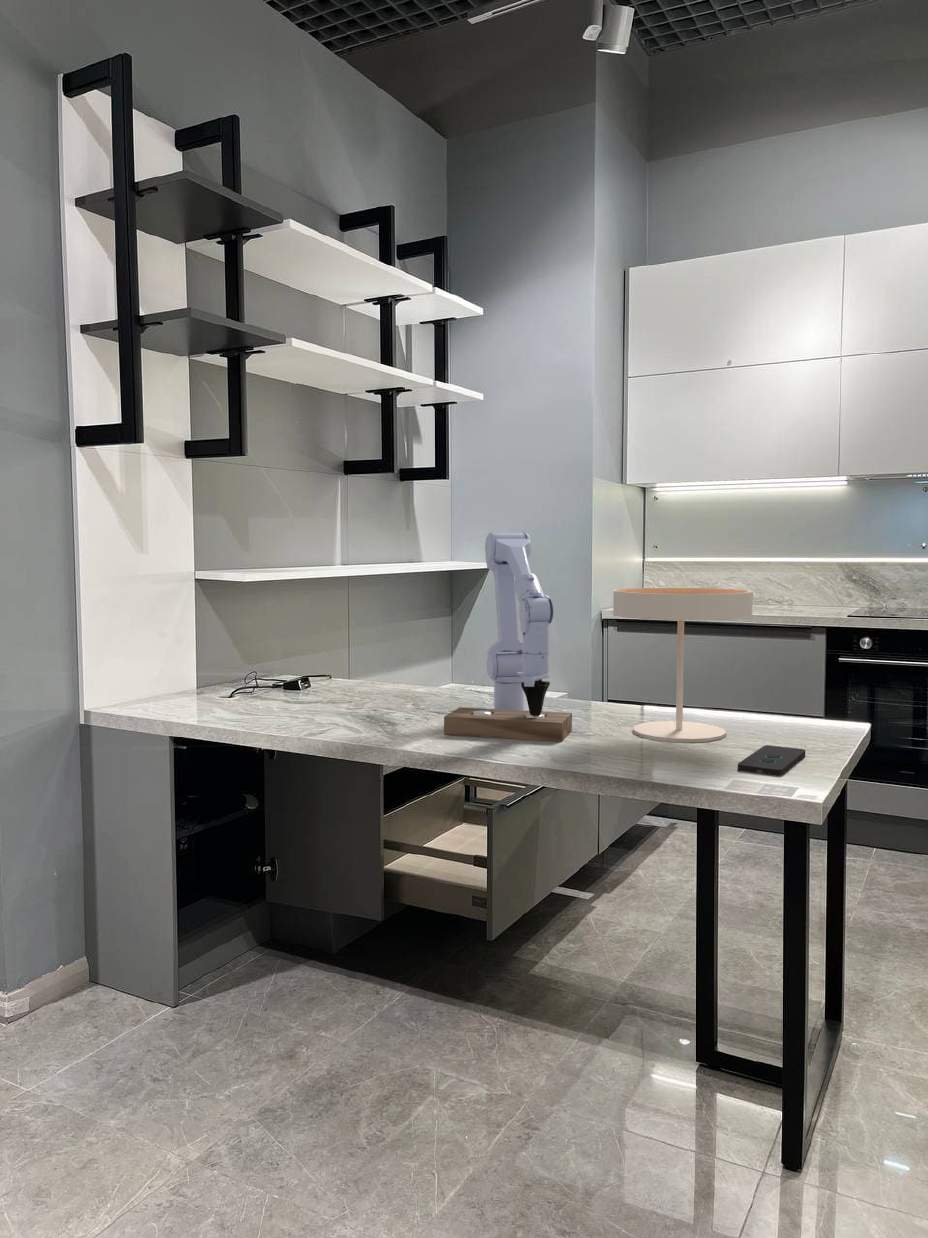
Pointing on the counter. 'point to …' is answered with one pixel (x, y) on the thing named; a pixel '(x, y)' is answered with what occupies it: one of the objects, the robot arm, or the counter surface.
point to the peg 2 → (535, 716)
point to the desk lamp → (681, 641)
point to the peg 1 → (482, 713)
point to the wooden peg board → (508, 724)
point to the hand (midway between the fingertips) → (535, 715)
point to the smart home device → (771, 760)
